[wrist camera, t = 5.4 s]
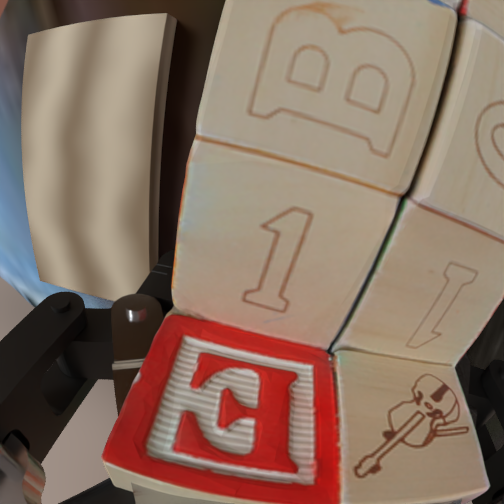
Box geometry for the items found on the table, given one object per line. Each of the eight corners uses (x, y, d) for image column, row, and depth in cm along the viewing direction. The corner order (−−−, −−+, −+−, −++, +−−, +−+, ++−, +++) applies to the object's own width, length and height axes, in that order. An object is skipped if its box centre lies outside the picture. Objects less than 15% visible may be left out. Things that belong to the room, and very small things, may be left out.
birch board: (177, 19, 16) (167, 13, 15) (159, 296, 27) (151, 309, 25) (43, 36, 17) (28, 35, 15) (51, 270, 27) (40, 280, 25)
